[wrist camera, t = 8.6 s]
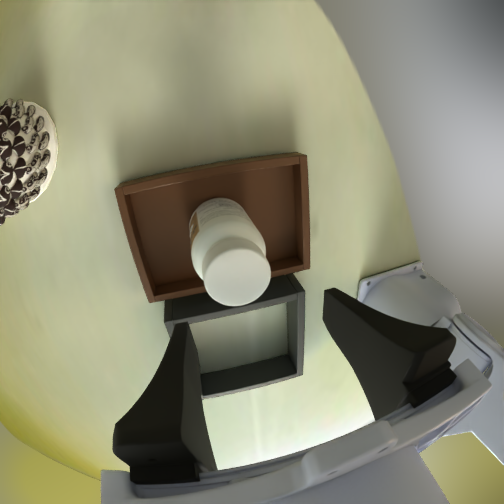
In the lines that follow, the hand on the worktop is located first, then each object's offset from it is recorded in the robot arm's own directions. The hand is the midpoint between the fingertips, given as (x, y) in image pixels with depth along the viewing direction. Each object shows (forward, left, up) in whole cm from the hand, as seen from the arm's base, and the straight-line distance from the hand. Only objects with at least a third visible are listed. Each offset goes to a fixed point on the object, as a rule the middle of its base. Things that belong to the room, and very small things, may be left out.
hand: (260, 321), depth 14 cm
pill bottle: (+1, -2, -9) cm, 9 cm away
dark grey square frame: (+1, +9, -9) cm, 13 cm away
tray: (+1, -2, -9) cm, 10 cm away
